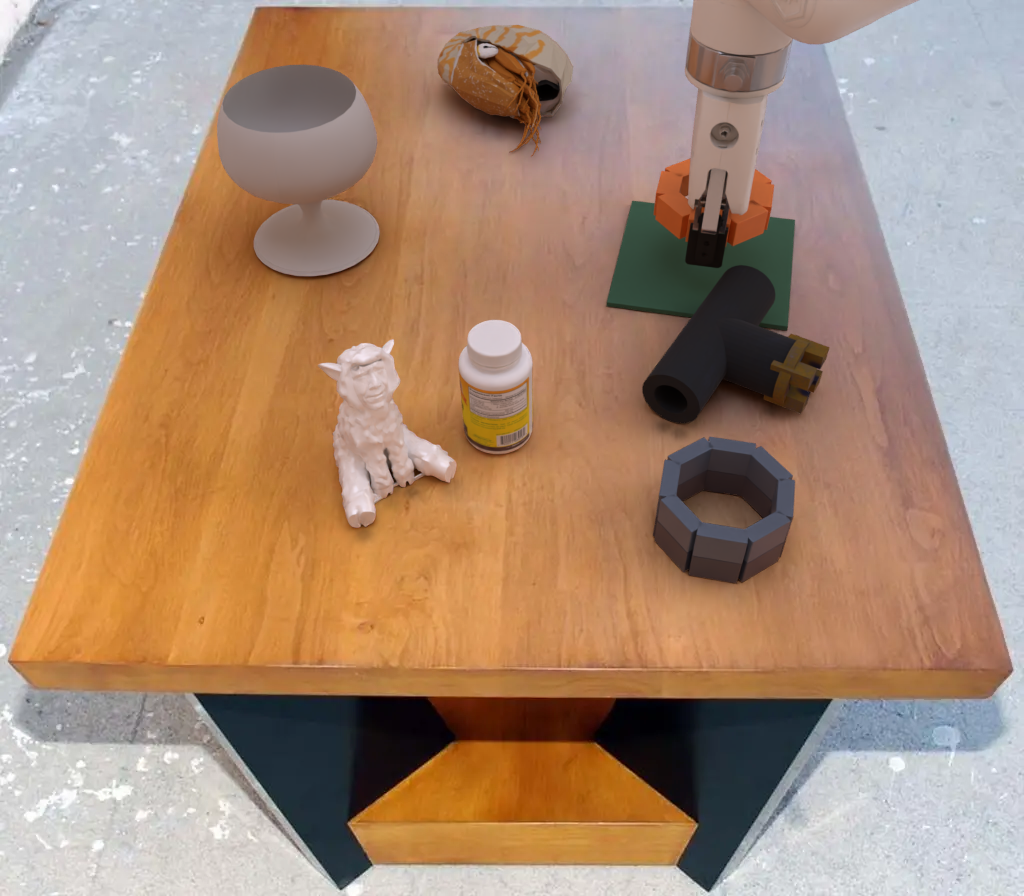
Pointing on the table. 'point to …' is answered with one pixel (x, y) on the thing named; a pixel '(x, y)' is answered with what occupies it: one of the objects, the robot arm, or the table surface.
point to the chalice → (301, 164)
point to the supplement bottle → (496, 388)
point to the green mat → (694, 268)
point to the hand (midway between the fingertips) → (705, 252)
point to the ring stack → (728, 473)
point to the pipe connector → (733, 353)
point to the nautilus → (508, 73)
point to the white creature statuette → (376, 433)
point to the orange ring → (680, 215)
